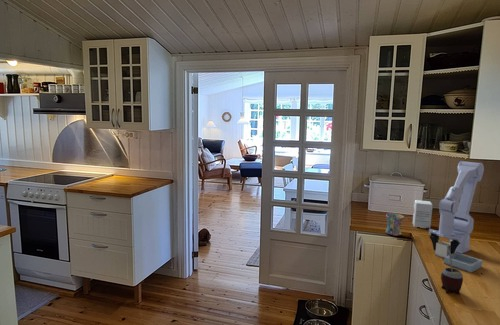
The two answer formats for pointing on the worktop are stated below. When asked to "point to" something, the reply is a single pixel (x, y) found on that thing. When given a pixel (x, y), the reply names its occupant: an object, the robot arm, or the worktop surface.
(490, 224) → the worktop surface
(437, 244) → the box
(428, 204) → the supplement box
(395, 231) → the mug
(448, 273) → the mate gourd
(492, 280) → the worktop surface
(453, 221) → the robot arm
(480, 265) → the big crate
